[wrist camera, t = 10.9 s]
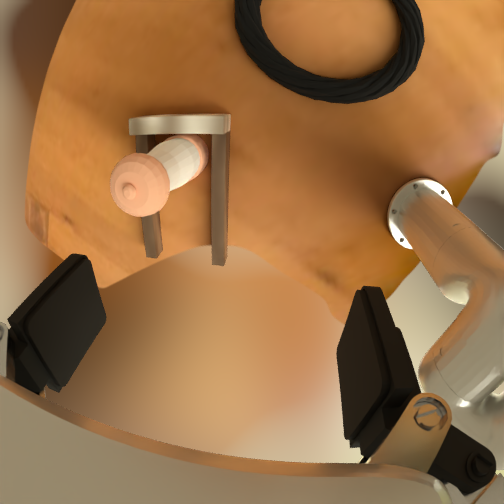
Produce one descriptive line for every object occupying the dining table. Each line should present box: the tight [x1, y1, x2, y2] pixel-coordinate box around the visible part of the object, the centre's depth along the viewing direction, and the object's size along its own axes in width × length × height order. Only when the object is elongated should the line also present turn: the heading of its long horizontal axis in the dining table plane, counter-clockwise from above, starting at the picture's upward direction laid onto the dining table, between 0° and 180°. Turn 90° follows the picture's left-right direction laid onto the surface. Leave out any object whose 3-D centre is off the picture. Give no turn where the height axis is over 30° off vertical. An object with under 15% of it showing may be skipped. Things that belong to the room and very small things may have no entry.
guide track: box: [129, 114, 231, 266], centre depth 44 cm, size 14×24×5 cm, turn 177°
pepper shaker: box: [110, 134, 209, 217], centre depth 35 cm, size 7×7×19 cm
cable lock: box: [235, 0, 425, 104], centre depth 28 cm, size 28×4×30 cm
